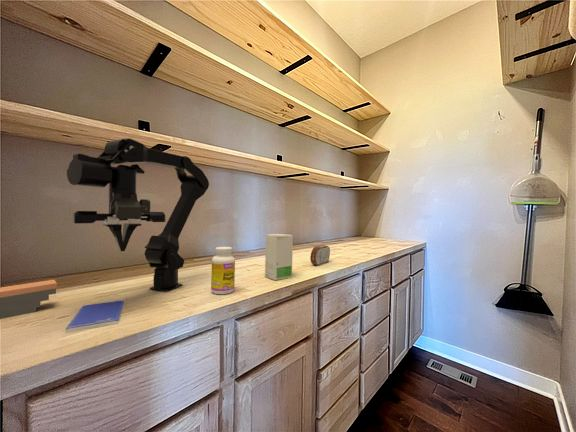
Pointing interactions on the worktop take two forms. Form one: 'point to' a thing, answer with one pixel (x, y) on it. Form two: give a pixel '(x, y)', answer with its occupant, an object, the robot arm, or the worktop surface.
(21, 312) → the domino
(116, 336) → the worktop surface
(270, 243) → the skincare box
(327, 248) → the tin
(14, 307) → the domino
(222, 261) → the supplement bottle
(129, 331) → the worktop surface
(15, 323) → the worktop surface
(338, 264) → the worktop surface
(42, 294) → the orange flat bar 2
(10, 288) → the domino
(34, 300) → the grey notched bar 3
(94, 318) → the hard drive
